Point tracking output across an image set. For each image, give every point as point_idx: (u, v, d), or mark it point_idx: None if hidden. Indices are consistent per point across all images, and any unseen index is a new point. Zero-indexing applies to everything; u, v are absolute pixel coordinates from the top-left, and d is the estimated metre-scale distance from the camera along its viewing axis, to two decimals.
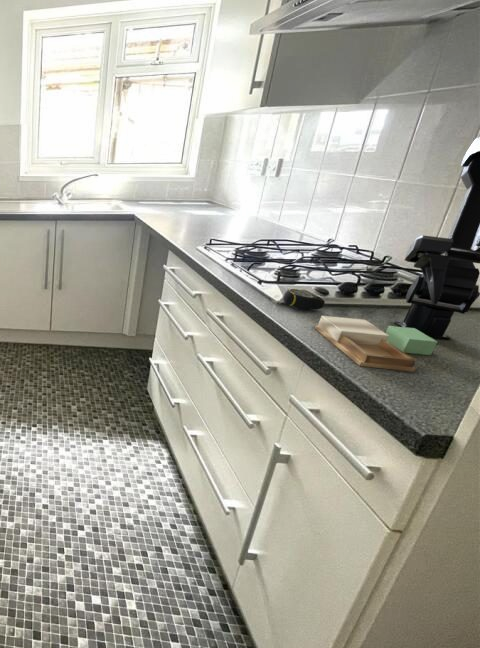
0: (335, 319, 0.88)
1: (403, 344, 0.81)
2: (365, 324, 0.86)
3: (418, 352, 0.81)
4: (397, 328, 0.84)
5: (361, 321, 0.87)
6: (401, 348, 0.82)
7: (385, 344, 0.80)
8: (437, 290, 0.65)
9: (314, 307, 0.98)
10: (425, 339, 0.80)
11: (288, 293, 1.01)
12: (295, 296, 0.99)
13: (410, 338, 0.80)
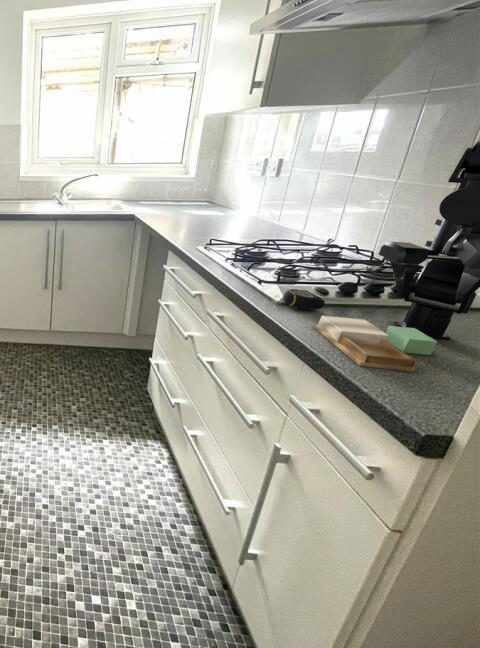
0: (335, 319, 0.88)
1: (403, 344, 0.81)
2: (365, 324, 0.86)
3: (418, 352, 0.81)
4: (397, 328, 0.84)
5: (361, 321, 0.87)
6: (401, 348, 0.82)
7: (385, 344, 0.80)
8: (405, 288, 0.79)
9: (314, 307, 0.98)
10: (425, 339, 0.80)
11: (288, 293, 1.01)
12: (295, 296, 0.99)
13: (410, 338, 0.80)
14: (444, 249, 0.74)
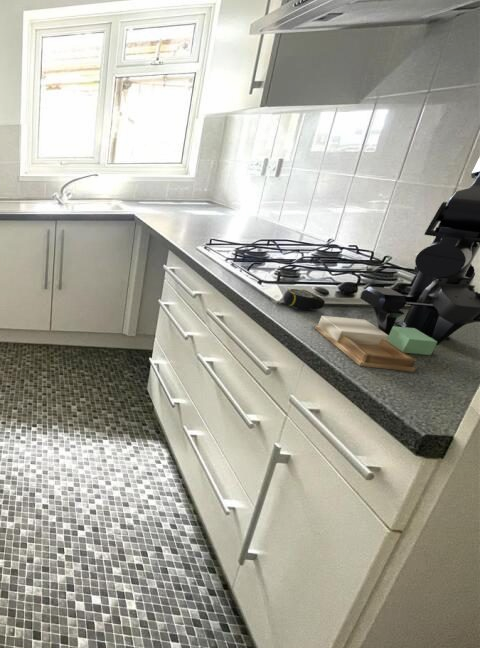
0: (335, 319, 0.88)
1: (403, 344, 0.81)
2: (365, 324, 0.86)
3: (418, 352, 0.81)
4: (397, 328, 0.84)
5: (361, 321, 0.87)
6: (401, 348, 0.82)
7: (385, 344, 0.80)
8: (387, 332, 0.82)
9: (314, 307, 0.98)
10: (425, 339, 0.80)
11: (288, 293, 1.01)
12: (295, 296, 0.99)
13: (410, 338, 0.80)
14: (421, 297, 0.78)
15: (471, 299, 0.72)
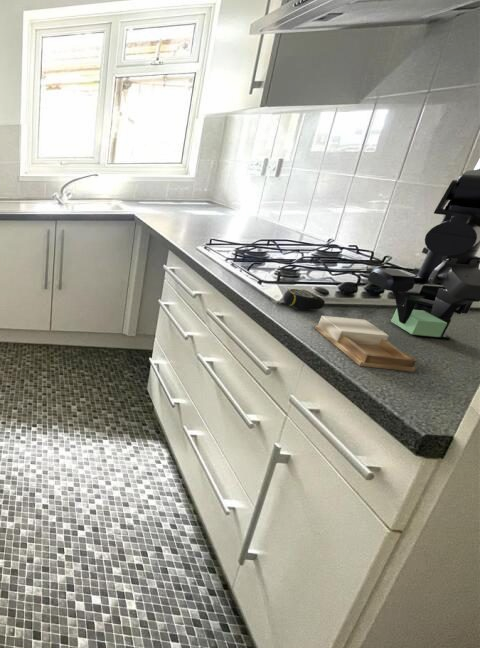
0: (335, 319, 0.88)
1: (412, 326, 0.80)
2: (365, 324, 0.86)
3: (427, 333, 0.79)
4: None
5: (361, 321, 0.87)
6: (410, 330, 0.80)
7: (385, 344, 0.80)
8: (407, 315, 0.81)
9: (314, 307, 0.98)
10: (434, 320, 0.78)
11: (288, 293, 1.01)
12: (295, 296, 0.99)
13: (419, 319, 0.79)
14: (430, 278, 0.76)
15: None
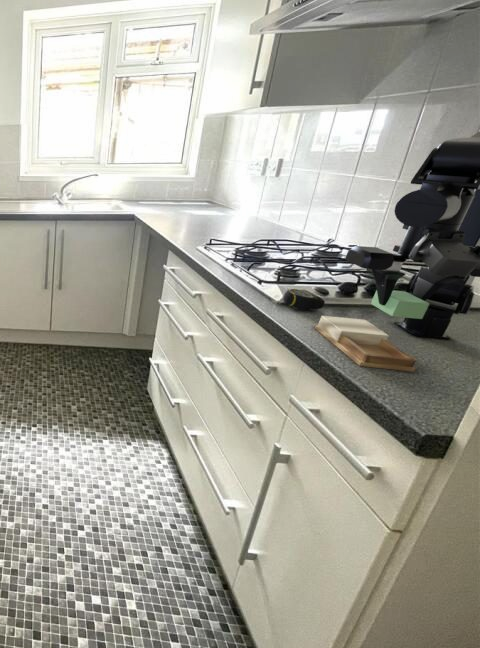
0: (335, 319, 0.88)
1: (392, 307, 0.74)
2: (365, 324, 0.86)
3: (408, 315, 0.73)
4: None
5: (361, 321, 0.87)
6: (390, 312, 0.75)
7: (385, 344, 0.80)
8: (387, 296, 0.75)
9: (314, 307, 0.98)
10: (416, 301, 0.73)
11: (288, 293, 1.01)
12: (295, 296, 0.99)
13: (400, 300, 0.73)
14: (411, 254, 0.71)
15: (465, 253, 0.65)
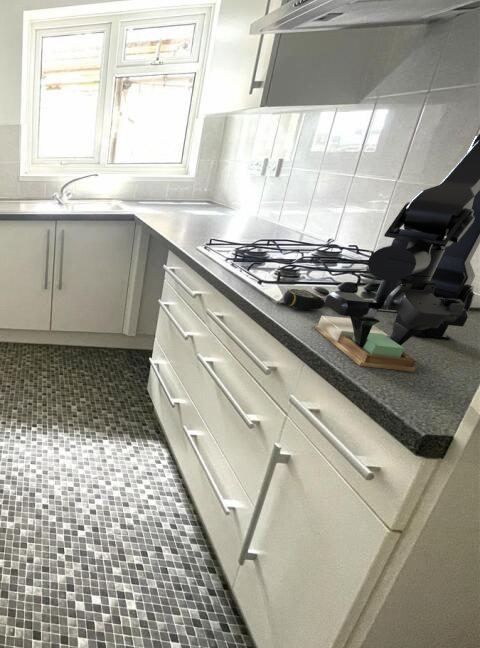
0: (335, 319, 0.88)
1: (369, 350, 0.77)
2: None
3: None
4: None
5: None
6: None
7: None
8: (363, 340, 0.78)
9: (314, 307, 0.98)
10: (392, 345, 0.76)
11: (288, 293, 1.01)
12: (295, 296, 0.99)
13: (376, 344, 0.76)
14: (385, 303, 0.74)
15: (435, 306, 0.68)
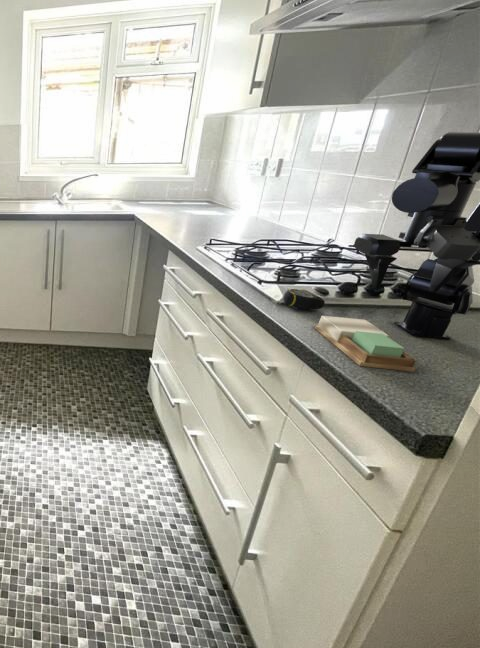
0: (335, 319, 0.88)
1: (369, 350, 0.77)
2: (365, 324, 0.86)
3: None
4: (364, 333, 0.80)
5: (361, 321, 0.87)
6: None
7: None
8: (380, 280, 0.80)
9: (314, 307, 0.98)
10: (392, 345, 0.76)
11: (288, 293, 1.01)
12: (295, 296, 0.99)
13: (376, 344, 0.76)
14: (416, 240, 0.75)
15: (468, 238, 0.69)
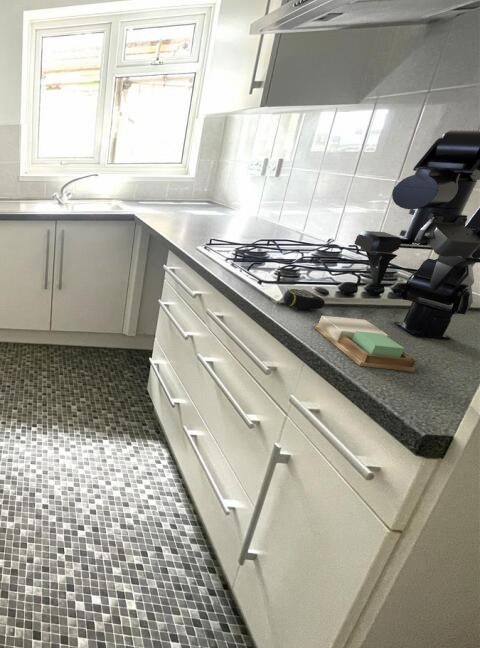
0: (335, 319, 0.88)
1: (369, 350, 0.77)
2: (365, 324, 0.86)
3: None
4: (364, 333, 0.80)
5: (361, 321, 0.87)
6: None
7: None
8: (380, 277, 0.80)
9: (314, 307, 0.98)
10: (392, 345, 0.76)
11: (288, 293, 1.01)
12: (295, 296, 0.99)
13: (376, 344, 0.76)
14: (417, 238, 0.75)
15: (468, 235, 0.70)
